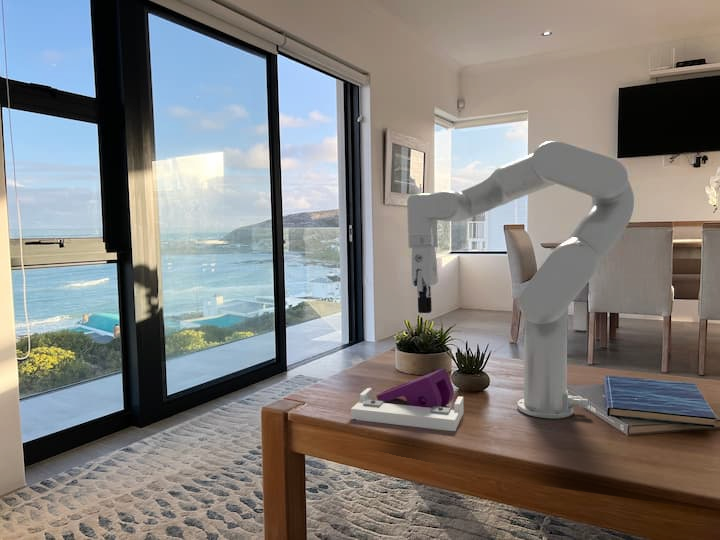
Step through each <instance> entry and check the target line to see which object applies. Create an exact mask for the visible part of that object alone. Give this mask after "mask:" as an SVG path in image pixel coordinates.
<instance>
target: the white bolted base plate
mask: <svg viewBox="0 0 720 540" xmlns="http://www.w3.org/2000/svg"><path fill="white" fill-rule="evenodd" d="M463 416H464V396H457V398H456V400H455V401H454V406H453V409H451V407H446V406H444V407H436V406H433V407H432V408H428V407H418V406H409V405H408V404H407V405H406V404H398V403H397V404H395V403H388V402H384V403H383V401H378V399H376V400H375V399H373V389H372V387H367V388H366V389H364V390H363V391H362V392H361V393H360V394H359V400H358V402H356V403H355V405H353V406H352V407H351V408H350V419H351V420H353V419H356V420H355V421H363V422H371V423H373V422H374V423H380V424H389V425H398V426H406V427H413V428H414V427H415V428H422V429H433V430H439V431H440V430H441V431H448V432H456V430H457V429H458V428H457V427H458V426H459V424H460V422H461V420H462V418H463Z"/></svg>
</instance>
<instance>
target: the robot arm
mask: <svg viewBox="0 0 720 540" xmlns="http://www.w3.org/2000/svg"><path fill="white" fill-rule="evenodd" d="M628 174H629V173H628V171H627V169H626V167H625V165H624V164H623V163H622V162H620V161H619V160H617V159H615V158H612V157H609V156H607V155H603V154H600V153H597V152H594V151H591V150H587V149H585V148H581V147H577V146H575V145H573V144H569V143H566V142H563V141H561V140H560V141H559V140H549V141H545V142H543V143H541V144H540V145H539V146H537V148H535V150H534V151H533V153H530V154H528V155H527V156H526V155H525V156H524V157H521V158H519V159H516V160H514V161H511V162H509V163H507V164H504V165H502V166H499V167H498V168H497V169H495V170H494V171H493V172H492V174H491V175H490V176H489V177H487V178H486V179H484V180H483V181H482V182H480V183H477V184H475V185H474V186H471V187H468V188H466V189H463V190H461V191H454V190H442V191H437V192H434V193H414V194H411V195H409V196H408V198H407V200H406V201H407V202H406V203H407V204H406V207H407V208H406V210H407V211H406V212H407V234H408V235H407V236H408V237H407V238H408V243H407V244H408V249H411V282H412V285H413V287H416V291H417V312H418V314H430V313H432V311H433V309H432V287H433V286H436V284H437V283H438V282H439V277H438V264H437V263H438V262H437V251H436V248H438V247H439V246H438V221H442V222H443V221H444V222H462V221H466V220H467V219H470V218H473V217H476V216H478V215H481V214H483V213H486V212H489V211H491V210H494V209H496V208H498V207H500V206H504V205H506V204H508V203H511V202H513V201H515V200H517V199H520V198H523V197H524V196H527V195H529V194H533V193H535V192H538V191H541V190H543V189H546V188H549V187H551V186H554V185H559V186H562V187H564V188H568V189H570V190H572V191H576V192H578V193H581V194H585V195H588V196H590V198H591V200H592V201H591V206H590V208H589V210H588V211H587V213H586V214H585V215H584V217H583V218H582V219H581V221H580V222H579V223H578V225H577V227H576V228H575V229H574V230H573V231H572V233H570V235H569V237H568V238H567V239H566V240H565V241H564V242H562V243H560V244H558V245H557V246H556V247H555V248H554V249H553V250H552V251H551V252H550V254H549V256H548V257H547V258H546V259H545V261H544V262H543V263H542V264H541V266H540V267H539V268H538V270H536V272H535V273H534V275H533V277H531V279H530V280H529V281H528V282H527V284H526V285H525V287H524V288H523V289H522V291H521V293H520V295H519V299H518V306H519V310H520V313H521V315H523V317H524V338H523V339H524V343H523V344H524V345H523V398H521V399H519V400H518V401H517V403H516V404H517V405H516V407H517V409H518V411H520V412H521V413H523V414H525V415H528V416H532V417H536V418H542V419H550V420H551V419H552V420H553V419H564V418H568V417H570V416H572V415H574V407H578V408H584V409H585V408H586V409H588V408H589V399H588V398H583V397H582V396H572V395H571V394H569V390H568V389H567V381H568V380H567V378H568V377H567V376H568V375H567V374H568V323H569V321H568V320H569V306H570V305H571V304H572V303H573V301H574V300H575V299H576V298H577V296H579V294H580V293H581V292H582V291H583V289H585V287H586V286H587V284H588V283H589V281H590V280H591V279H592V278H593V276H594V275H595V273H596V272H597V269H598V266H599V264H600V263H601V262H602V260H603V258H604V257H605V256H606V255H607V254H608V253H609V252H610V250H611V249H612V247H613V246H614V244H615V243H616V242H617V240H618V239H619V238H620V236H621V235H622V234H623V232H624V231H625V230H626V229H627V227H628V225H629V223H630V221H631V219H632V217H633V214H634V208H635V207H634V206H635V199H634V198H635V196H634V191H633V188H632V186H631V183H630V182H629V181H630V180H629V175H628Z"/></svg>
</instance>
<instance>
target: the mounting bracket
mask: <svg viewBox="0 0 720 540" xmlns="http://www.w3.org/2000/svg"><path fill="white" fill-rule="evenodd" d="M454 394H455V390H454V387H453V384H452V382H451V380H450V377H449V374H448V373H447V371H446V368H445V367H444V368H440V369H439V370H436V371H433V372H431V373H427V374H425V375H422V376H419V377H417V378H414V379H412V380H408V381H406V382H403V383H401V384H399V385H395V386H394V387H391V388H388V389H386V390H385V391H382V392H380V393H378V394H376V395H375V396H376V400H377V401H383V403H388V402H390V401H393V400H395V399H398V398H401V397H404V398H405V400H406V402H407V405H408V406H418V407H428V408H432V407H433V406H436V407H446V406H447V405H449V404H450V403H451V402H452V400H453V399H454V396H455V395H454Z"/></svg>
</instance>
